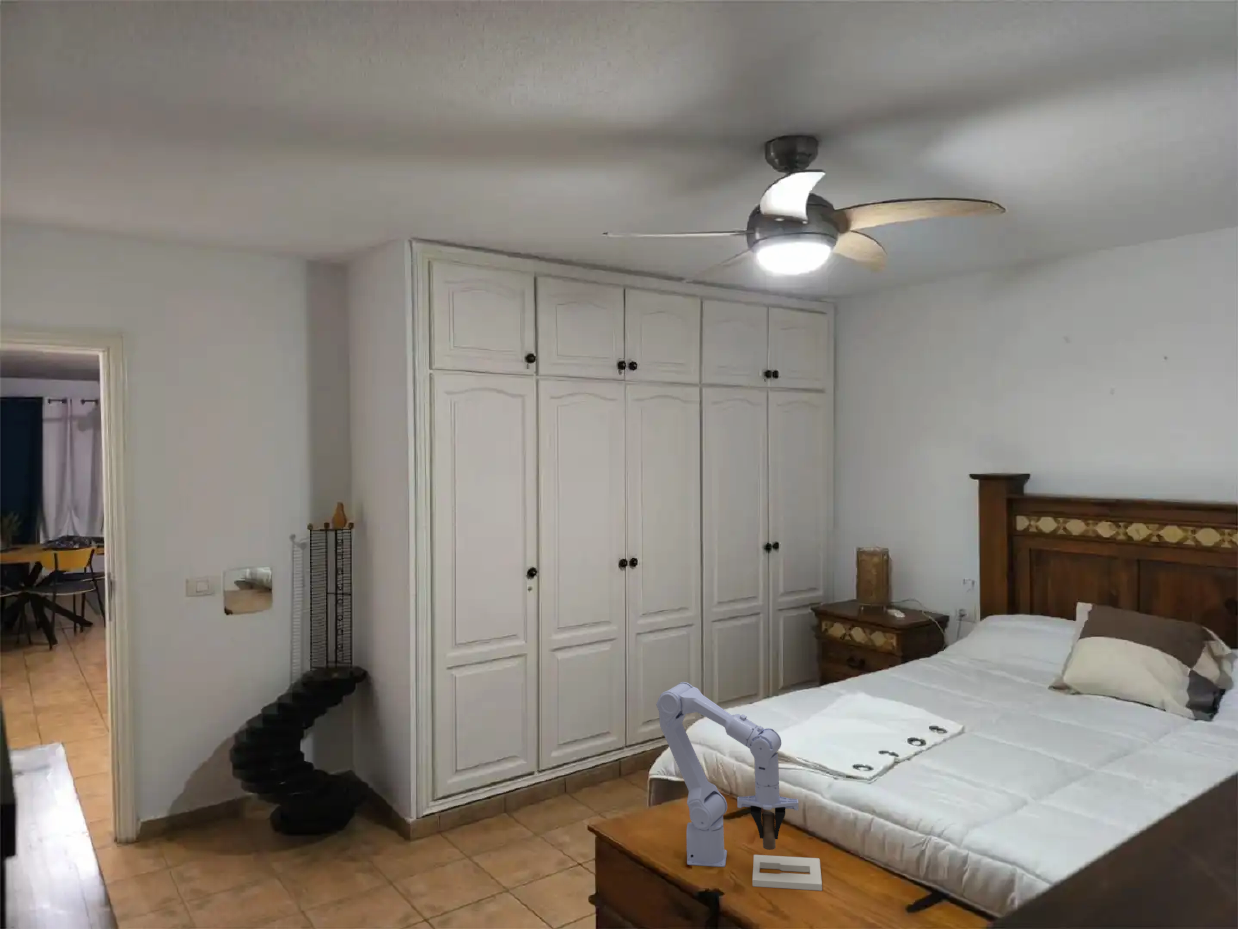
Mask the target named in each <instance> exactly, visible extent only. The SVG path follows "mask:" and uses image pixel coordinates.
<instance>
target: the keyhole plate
mask: <svg viewBox="0 0 1238 929" xmlns="http://www.w3.org/2000/svg"><path fill="white" fill-rule="evenodd" d="M752 867H753V868H752V887H758V888H774V889H775V888H776V889H789V890H790V889H792V890H803V891H804V890H805V891H820V892H821V891H822V892H823V884H822V883H823V881H822V873H821V872H822V871H821V860H820V858H818V857H802V856H786V855H785V856H782V855H769V854H768V855H766V854H765V855H764V854H753V866H752ZM761 869H770V870H780V871H781V872H780V873H768V872H760V870H761ZM782 871H783V872H782ZM789 872H791V873H789ZM792 872H794V873H792ZM795 872H798V873H795ZM800 872H801V873H800ZM804 873H805V874H804Z"/></svg>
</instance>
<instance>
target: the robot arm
mask: <svg viewBox="0 0 1238 929" xmlns="http://www.w3.org/2000/svg"><path fill="white" fill-rule="evenodd" d="M655 705H656V708H657V710H658V715H659V716H658V717H659V720H658V721H659V727H660V729H661V731H662V733H663V736H664V738H665V740H666V743H667V745H668V748H669V749H670V752H671V754H672V756H673V758H674V761H675V762H676V765H677V767H678V770H679V771H680V774H681V777H682V778H683V780H684V783H685V786H686V787H687V791H688V795H687V800H686V805H687V807H688V810H689V818H690V819H689V820H690V821H691V822H687V825H686V864H687V866H688V865H689V866H698V867H699V866H700V867H701V866H704V867H718V868H720V867H721V868H725V867H726V863H727V853H728V850H727V849H725V839H724V838H725V837H724V836H725V834H724V833H725V832H724V831H725V830H724V815H725V814H726V813H727V810H728V803H727V799H726V798H725V796H724V795H723V794H721V792H720V791H719V790H718V788H717V786H716V785H715V784H714V783H711V782H710V781H708V780H709V779H708V778H707V776H706V773H705V772H704V769H703V767H702V765H701V763H700V761H699V759H698V756H697V754H696V751H695V749H694V747H693V745H692V742H691V740H690V739H689V738H690V737H689V736H688V733H687V731H686V729H685V727H684V725H683V722H684V719H685V717H686V715H687V714H694V713H698V714H699V715H701V716H703V717H705V718H707V719H709V720H711V721H712V722H714V723H716V724H718V725H720V726H721V727H724V730H725V733H726V735H728V736H729V737H731V738H732V739H733V740H735V741H736V742H739V743H740V744H742V745H743V746H745V747H746V748H748V749H749V751H750V754H751V755H752V756H753V759H754V787H755V789H754V791H755V795H747V796H746V795H745V796H737V804H736V805H737V808H738V809H742V808H745V807H746V808H750V814H751V817H752V819H753V821H754V823H755V825H756V828H757V830H758V835H759V839H761V840H763V831H762V809H763V810H767V811H768V810H772V809H774V815H775V840H778V839H779V832H780V829H781V826H782V824H783V821H784V819H785V816H786V809H787V810H789V809H790V810H794V811H799V799H798V798H790V797H785V796H780V774H779V768H780V767H779V753H778V751H779V750H780V749H781V747H782V740H781V736H780V735H779V733H778V732H777V731H776V730H775V729H773V728H770V727H766V728H764V727H763V726H761V725H757V724H756V723H754V722H753V721H751V720H749V719H747V718H748V717H747V716H746V715H745V714H740V713H736V714H730V713H729V712H728V711H726V710H725V709H724V708H722V707H721V706H719V705H718V704H717V703H715V702H714V701H712V700H711V699H709V698H708V697H707V696H706V695H704V694H702V692H701V690H700V689H699V688H698V687H695V686H693V685H692V684H690V683H689V682H685V681H681V682H679V683H677V685H674V686H673V687H671V688H670V689H668V690H666V691H663V692H662V693H660V696H659V697H658V700H657V702H656V703H655Z"/></svg>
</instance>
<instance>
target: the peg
mask: <svg viewBox="0 0 1238 929" xmlns="http://www.w3.org/2000/svg"><path fill="white" fill-rule="evenodd" d="M761 815H762V831H763V839H762V848H763V849H764V850H767V851H768V850H769V851H773V850H775V849H776V846H777V845H776V839H775V812H773V811H768V810H767V811H763V812H761Z"/></svg>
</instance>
